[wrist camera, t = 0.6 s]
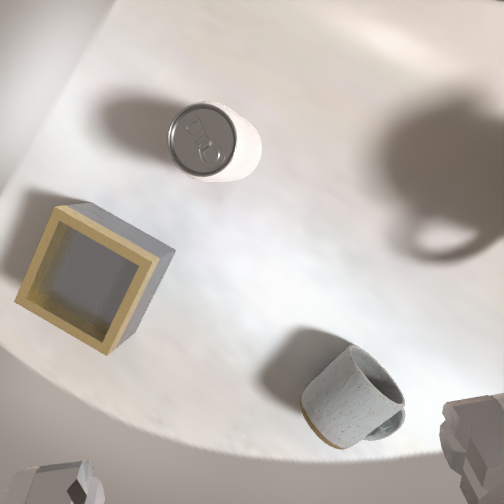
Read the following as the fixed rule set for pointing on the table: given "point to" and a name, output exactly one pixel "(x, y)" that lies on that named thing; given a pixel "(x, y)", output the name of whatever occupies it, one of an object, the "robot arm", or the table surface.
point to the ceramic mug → (353, 401)
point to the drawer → (93, 275)
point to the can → (213, 143)
